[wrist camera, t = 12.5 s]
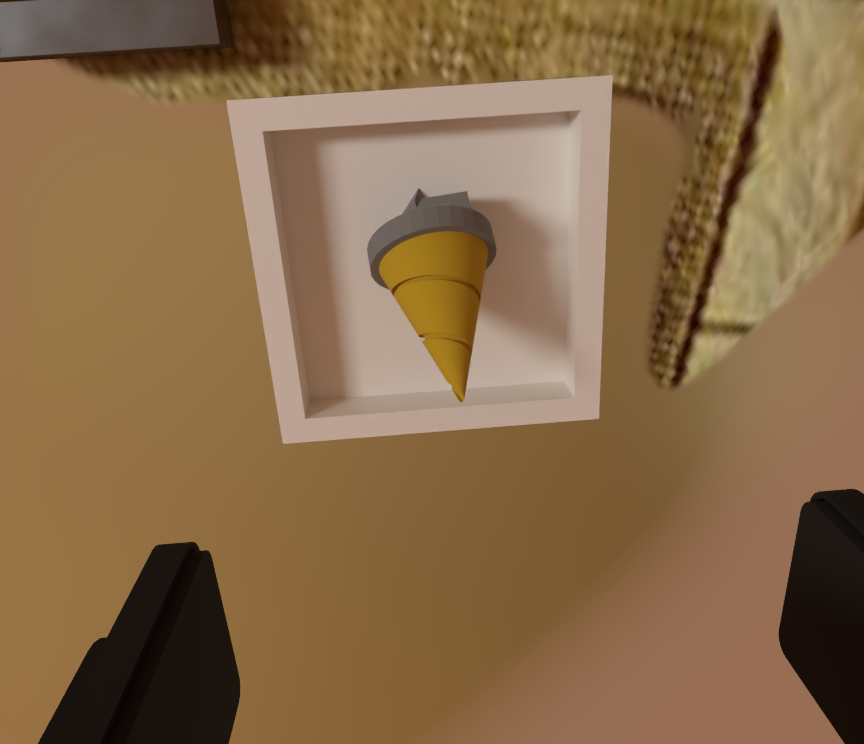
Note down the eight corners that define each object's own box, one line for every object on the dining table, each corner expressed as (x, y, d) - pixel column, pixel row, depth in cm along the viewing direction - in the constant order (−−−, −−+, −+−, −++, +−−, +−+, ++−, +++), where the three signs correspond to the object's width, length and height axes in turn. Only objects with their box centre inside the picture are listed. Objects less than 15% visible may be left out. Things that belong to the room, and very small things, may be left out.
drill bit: (502, 179, 30) (555, 388, 27) (413, 235, 33) (451, 430, 30) (424, 127, 26) (475, 365, 23) (332, 196, 29) (364, 415, 26)
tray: (591, 76, 29) (612, 75, 26) (582, 392, 35) (599, 418, 32) (242, 99, 29) (226, 100, 26) (291, 415, 35) (282, 443, 32)
